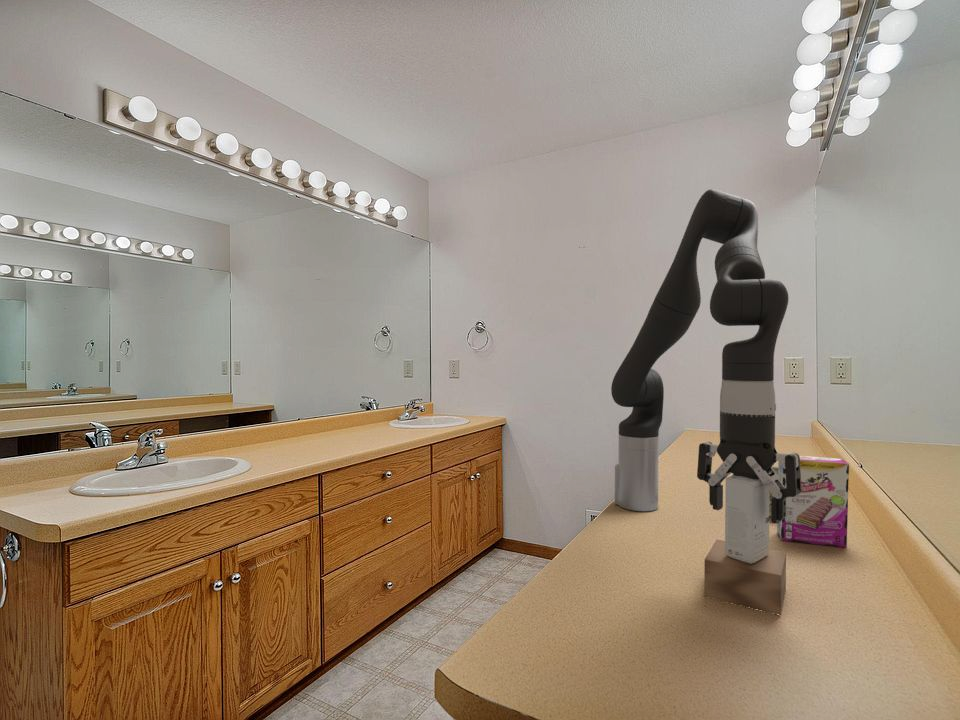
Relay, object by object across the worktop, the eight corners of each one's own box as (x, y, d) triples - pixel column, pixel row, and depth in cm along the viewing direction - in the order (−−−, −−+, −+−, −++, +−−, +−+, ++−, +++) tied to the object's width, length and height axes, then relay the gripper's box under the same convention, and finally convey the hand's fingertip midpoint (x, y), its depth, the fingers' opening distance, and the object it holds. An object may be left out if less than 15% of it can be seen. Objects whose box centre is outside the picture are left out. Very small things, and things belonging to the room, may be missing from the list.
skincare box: (753, 565, 75) (755, 484, 74) (722, 555, 78) (724, 477, 78) (770, 553, 79) (772, 476, 78) (740, 544, 82) (742, 470, 82)
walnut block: (704, 598, 77) (704, 559, 77) (716, 575, 85) (716, 539, 85) (780, 618, 72) (781, 575, 71) (785, 590, 80) (786, 552, 80)
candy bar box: (781, 541, 100) (782, 458, 100) (776, 533, 105) (776, 453, 105) (849, 549, 96) (850, 462, 96) (840, 539, 101) (841, 457, 101)
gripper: (690, 408, 81) (689, 509, 81) (790, 416, 70) (789, 533, 71) (710, 405, 86) (710, 500, 86) (807, 412, 75) (806, 521, 76)
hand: (746, 515), depth 78 cm, fingers open, 8 cm apart
